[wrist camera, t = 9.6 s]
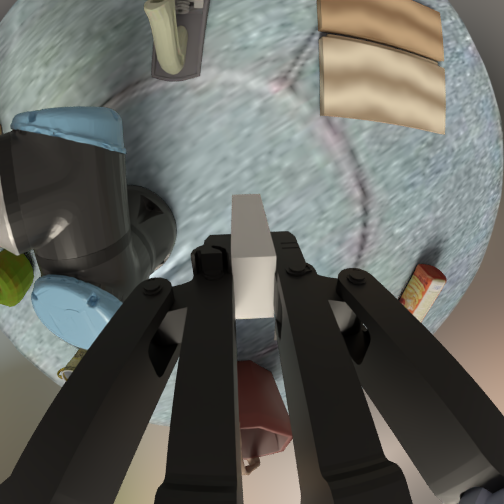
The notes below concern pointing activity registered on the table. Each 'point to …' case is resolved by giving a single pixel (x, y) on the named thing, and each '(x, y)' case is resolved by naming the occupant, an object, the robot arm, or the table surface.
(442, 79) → the ash plank
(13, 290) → the apple
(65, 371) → the ceramic cup
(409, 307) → the snack package
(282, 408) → the bucket
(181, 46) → the hand plane
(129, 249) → the robot arm
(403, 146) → the table surface
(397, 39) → the oak plank
